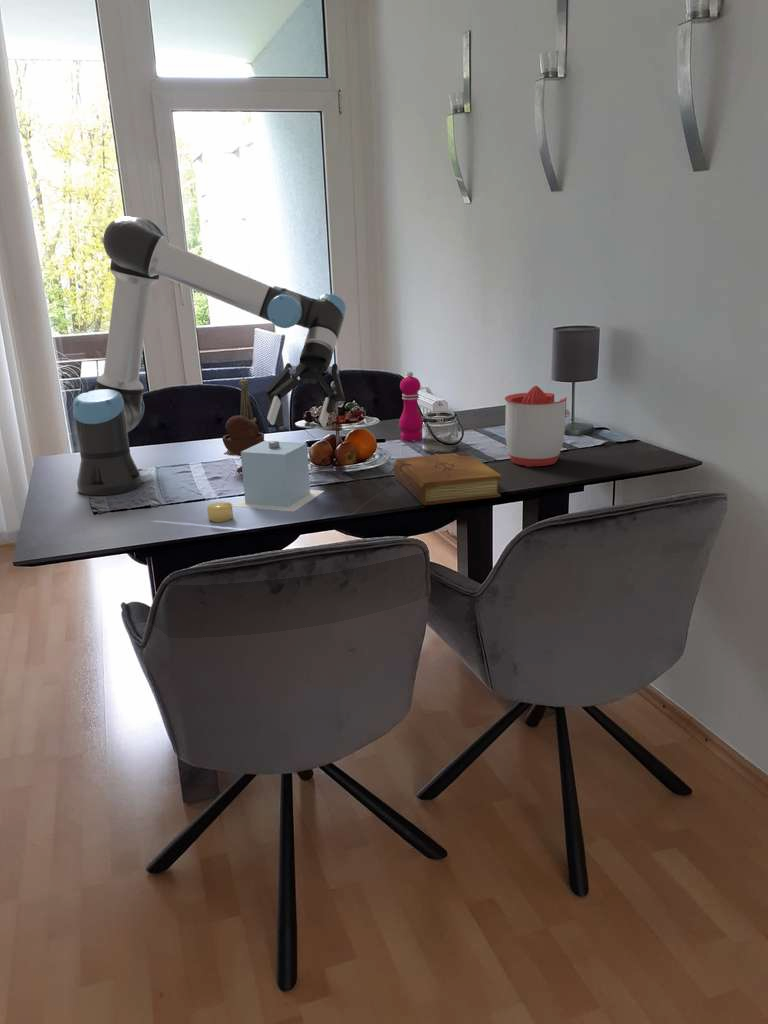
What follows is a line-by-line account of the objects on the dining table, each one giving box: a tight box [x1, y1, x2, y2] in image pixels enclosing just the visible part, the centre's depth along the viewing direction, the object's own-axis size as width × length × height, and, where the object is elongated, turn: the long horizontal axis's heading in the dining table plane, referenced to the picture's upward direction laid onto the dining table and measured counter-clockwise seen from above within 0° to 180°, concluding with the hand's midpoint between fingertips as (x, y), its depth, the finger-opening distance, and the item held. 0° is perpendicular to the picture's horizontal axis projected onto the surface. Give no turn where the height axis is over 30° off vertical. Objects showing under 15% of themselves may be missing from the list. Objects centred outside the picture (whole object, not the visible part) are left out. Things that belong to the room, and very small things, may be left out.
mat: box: [231, 489, 325, 512], centre depth 187 cm, size 16×16×1 cm
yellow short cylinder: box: [206, 501, 234, 523], centre depth 173 cm, size 5×5×4 cm
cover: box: [240, 440, 311, 507], centre depth 184 cm, size 11×11×13 cm
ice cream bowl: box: [222, 415, 265, 474], centre depth 210 cm, size 11×11×15 cm
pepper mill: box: [398, 371, 424, 442], centre depth 238 cm, size 7×7×20 cm
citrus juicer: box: [504, 385, 571, 468], centre depth 209 cm, size 16×17×20 cm
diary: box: [393, 451, 502, 506], centre depth 191 cm, size 23×19×6 cm
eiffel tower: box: [223, 365, 266, 459], centre depth 227 cm, size 11×11×25 cm
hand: (295, 422), depth 192 cm, fingers open, 13 cm apart
